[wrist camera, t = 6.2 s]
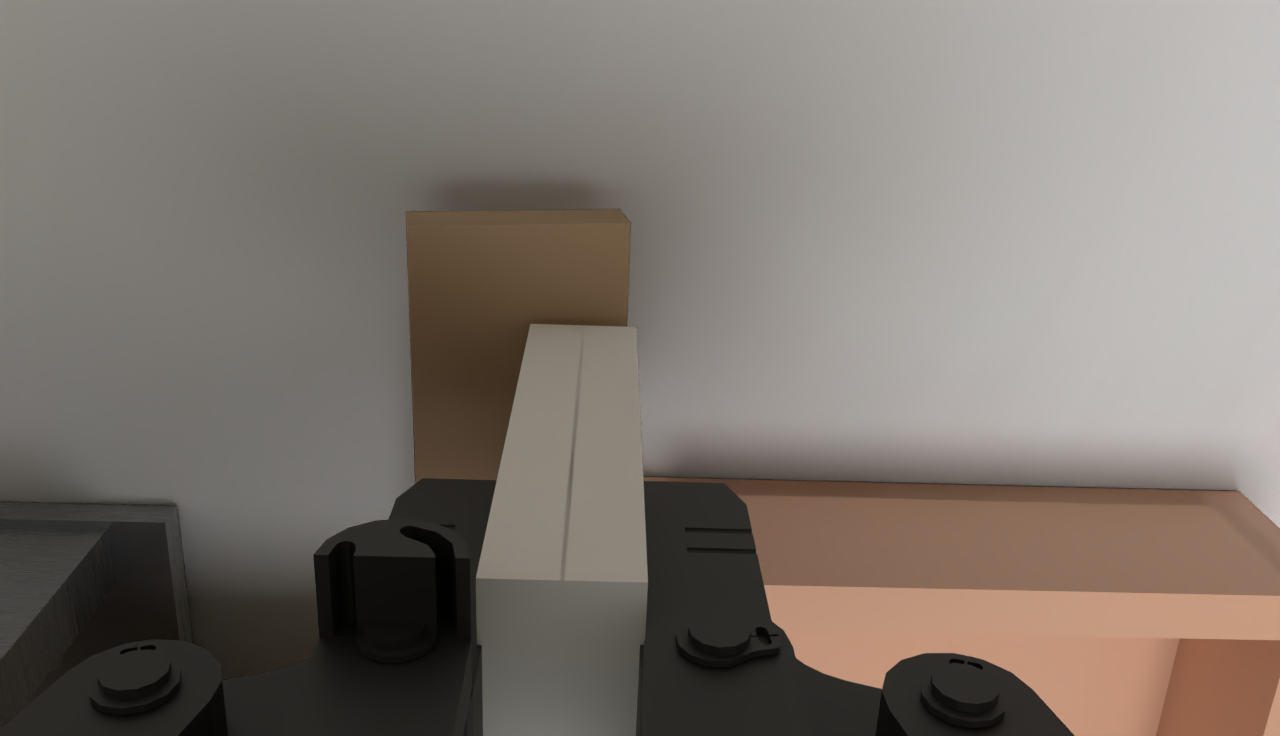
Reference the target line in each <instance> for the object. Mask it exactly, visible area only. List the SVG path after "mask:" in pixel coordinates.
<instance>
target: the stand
mask: <svg viewBox="0 0 1280 736" xmlns="http://www.w3.org/2000/svg"><path fill="white" fill-rule="evenodd" d="M152 639H160V640H181V641H186V642H189V643H192V644H193V636H192V628H191V619H190V611H189V603H188V594H187V586H186V578H185V569H184V561H183V553H182V544H181V536H180V528H179V519H178V511H177V506H151V505H108V504H64V503H21V502H0V730H1V729H2V728H3V727H4V726H5V725H7V724H8V723H9V722H10V721H11V720H12V719H13V718H15V717H16V716H17V715H18V714H19V713H20V712H21V711H23V710H24V709H25V708H26V707H27V706H28V705H29V704H30V703H32V702H33V701H34V700H35V699H36V698H37V697H38V696H40V695H41V694H42V693H43V692H44V691H45V690H46V689H48V688H49V687H50V686H51V685H52V684H53V683H54V682H56V681H57V680H58V679H59V678H60V677H61V676H62V675H63V674H65V673H66V672H67V671H69V670H70V669H72V668H73V667H75V666H77V665H78V664H80V663H81V662H83V661H84V660H86V659H87V658H89V657H90V656H93V655H95V654H98V653H101V652H103V651H106V650H109V649H111V648H114V647H117V646H119V645H122V644H127V643H131V642H136V641H137V642H140V641H144V640H152Z"/></svg>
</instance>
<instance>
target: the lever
mask: <svg viewBox="0 0 1280 736" xmlns="http://www.w3.org/2000/svg"><path fill="white" fill-rule="evenodd" d="M630 232H631V222H630V221H629V220H628V219H627V217H626V216H625V215H624V214H623V212H622V211H621V210H620V209H564V210H487V211H410V212H406V238H407V266H408V294H409V322H410V350H411V378H412V406H413V435H414V463H415V484H416V483H417V482H418V481H420V480H421V479H422V478H435V479H471V480H497V477H498V472H499V468H500V463H501V458H502V454H503V449H504V444H505V440H506V435H507V430H508V426H509V421H510V416H511V412H512V407H513V402H514V398H515V393H516V388H517V384H518V379H519V374H520V370H521V365H522V360H523V356H524V351H525V346H526V342H527V337H528V332H529V328H530V324H555V325H589V326H621V327H627V314H628V287H629V259H630Z"/></svg>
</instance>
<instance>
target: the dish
mask: <svg viewBox="0 0 1280 736" xmlns="http://www.w3.org/2000/svg"><path fill="white" fill-rule="evenodd" d="M643 481H667V482H704V483H725V484H726V485H727V486H728V487H729V488H730V489H731V490H732V491H733V492H734V493H735V494H736V495H737V496H738V497H739V498H740V499H741V500H742V501H743V502H744V503H745V504H746V505H747V509H748V513H749V518H750V523H751V527H752V534H753V537H754V541H755V546H756V554H757V555H758V560H759V564H760V569H761V574H762V578H763V583H764V588H765V592H766V597H767V602H768V606H769V611H770V616H771V620H772V622H773V623H775V624H776V625H777V626H779V627H780V628H782V629H783V630H784V632H785V633H786V635H787V637H788V639H789V640H790V642H791V644H792V646H793V648H794V653H795V657H796V658H797V659H798V660H800V661H801V662H802V663H804V664H805V665H807V666H809V667H811V668H813V669H815V670H817V671H820V672H822V673H824V674H826V675H830V676H833V677H836V678H839V679H843V680H846V681H850V682H854V683H858V684H863V685H867V686H871V687H876V688H880V689H882V687H883V683H884V679H885V675H886V672H888V671H889V670H890V669H891V668H892V667H893V666H895V665H896V664H897V663H898V662H899V661H901V660H903V659H906V658H910V657H913V656H917V655H920V654H923V653H956V654H961V655H965V656H971V657H975V658H979V659H983V660H986V661H988V662H990V663H992V664H994V665H996V666H999V667H1001V668H1003V669H1005V670H1007V671H1010V672H1012V673H1013V674H1014V675H1015V676H1017V677H1018V678H1019V679H1020V680H1022V681H1023V682H1024V683H1025V684H1027V685H1028V686H1029V687H1030V688H1032V689H1033V690H1034V691H1035V692H1036V694H1037V695H1038V696H1039V697H1040V698H1041V699H1042V700H1043V701H1044V702H1045V703H1046V705H1047V706H1048V707H1049V708H1050V709H1051V710H1052V711H1053V712H1054V713H1055V714H1056V716H1057V717H1058V718H1059V719H1060V720H1061V721H1062V722H1063V723H1064V724H1065V725H1066V727H1067V728H1068V729H1069V730H1070V731H1071V732H1072V733H1073V734H1074V735H1075V736H1280V528H1279V527H1277V526H1276V525H1275V524H1274V523H1273V522H1272V521H1271V520H1270V519H1269V518H1268V517H1267V516H1266V515H1265V514H1263V513H1262V512H1261V511H1260V510H1259V509H1258V508H1257V507H1256V506H1255V505H1254V504H1253V503H1252V502H1250V501H1249V500H1248V499H1247V498H1246V497H1245V496H1244V495H1243V494H1242V493H1241V492H1240V491H1198V490H1157V489H1116V488H1075V487H1033V486H992V485H951V484H909V483H868V482H827V481H786V480H744V479H703V478H662V477H643Z"/></svg>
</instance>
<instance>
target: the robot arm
mask: <svg viewBox="0 0 1280 736" xmlns="http://www.w3.org/2000/svg"><path fill="white" fill-rule="evenodd" d="M314 568H315V582H316V595H317V609H318V623H319V636H320V637H319V640H318V642H317V645H316V647H315V649H314V652H313V654H312V657H311V658H309V659H307V660H304V661H302V662H299V663H297V664H294V665H292V666H289V667H285V668H281V669H277V670H273V671H269V672H264V673H259V674H253V675H248V676H242V677H237V678H231V679H226V680H222V673H221V664H220V662H219V661H218V660H217V658H216V657H215V656H214V655H213V654H212V653H211V652H210V651H209V650H208V649H206V648H204V647H201V646H198V645H195V644H192V643H189V642H186V641H181V640H160V639H152V640H144V641H140V642H137V641H136V642H131V643H127V644H122V645H119V646H117V647H114V648H111V649H109V650H106V651H103V652H101V653H98V654H95V655H93V656H90V657H89V658H87V659H86V660H84V661H83V662H81V663H80V664H78V665H77V666H75V667H73V668H72V669H70V670H69V671H67V672H66V673H65V674H63V675H62V676H61V677H60V678H59V679H58V680H57V681H56V682H54V683H53V684H52V685H51V686H50V687H49V688H48V689H46V690H45V691H44V692H43V693H42V694H41V695H40V696H38V697H37V698H36V699H35V700H34V701H33V702H32V703H30V704H29V705H28V706H27V707H26V708H25V709H24V710H23V711H21V712H20V713H19V714H18V715H17V716H16V717H15V718H13V719H12V720H11V721H10V722H9V723H8V724H7V725H5V726H4V727H3V728H2V729H1V730H0V736H1075V735H1074V734H1073V733H1072V732H1071V731H1070V730H1069V729H1068V728H1067V727H1066V725H1065V724H1064V723H1063V722H1062V721H1061V720H1060V719H1059V718H1058V717H1057V716H1056V714H1055V713H1054V712H1053V711H1052V710H1051V709H1050V708H1049V707H1048V706H1047V705H1046V703H1045V702H1044V701H1043V700H1042V699H1041V698H1040V697H1039V696H1038V695H1037V694H1036V692H1035V691H1034V690H1033V689H1032V688H1030V687H1029V686H1028V685H1027V684H1025V683H1024V682H1023V681H1022V680H1020V679H1019V678H1018V677H1017V676H1015V675H1014V674H1013V673H1012V672H1010V671H1007V670H1005V669H1003V668H1001V667H999V666H996V665H994V664H992V663H990V662H988V661H986V660H983V659H979V658H975V657H971V656H965V655H961V654H956V653H923V654H920V655H917V656H913V657H910V658H906V659H903V660H901V661H899V662H898V663H897V664H896V665H895V666H893V667H892V668H891V669H890V670H889V671H888V672H886V675H885V679H884V683H883V687H882V689H880V688H876V687H871V686H867V685H863V684H858V683H854V682H850V681H846V680H843V679H839V678H836V677H833V676H830V675H826V674H824V673H822V672H820V671H817V670H815V669H813V668H811V667H809V666H807V665H805V664H804V663H802V662H801V661H800V660H798V659H797V658H796V657H795V653H794V648H793V646H792V644H791V642H790V640H789V639H788V637H787V635H786V633H785V632H784V630H783V629H782V628H780V627H779V626H777V625H776V624H775V623H773V622H772V620H771V616H770V611H769V606H768V602H767V597H766V592H765V588H764V583H763V578H762V574H761V569H760V564H759V560H758V555H757V554H756V546H755V541H754V537H753V534H752V527H751V523H750V518H749V513H748V509H747V505H746V504H745V503H744V502H743V501H742V500H741V499H740V498H739V497H738V496H737V495H736V494H735V493H734V492H733V491H732V490H731V489H730V488H729V487H728V486H727V485H726V484H725V483H704V482H667V481H643V458H642V435H641V412H640V389H639V367H638V344H637V327H621V326H589V325H555V324H530V328H529V332H528V337H527V342H526V346H525V351H524V356H523V360H522V365H521V370H520V374H519V379H518V384H517V388H516V393H515V398H514V402H513V407H512V412H511V416H510V421H509V426H508V430H507V435H506V440H505V444H504V449H503V454H502V458H501V463H500V468H499V472H498V477H497V480H471V479H435V478H422V479H421V480H420V481H418V482H417V483H416V484H415V485H413V486H412V487H411V488H409V489H408V490H407V491H406V492H404V493H403V494H402V495H401V496H399V497H398V498H397V499H396V501H395V504H394V507H393V509H392V512H391V515H390V517H389V520H379V521H373V522H369V523H365V524H362V525H358V526H354V527H350V528H347V529H346V530H344V531H342V532H340V533H338V534H336V535H334V536H333V537H331V538H329V539H327V540H326V541H325V542H324V543H323V544H322V545H321V547H320V548H319V549H318V550H317V551H316V552H315V554H314Z"/></svg>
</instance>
